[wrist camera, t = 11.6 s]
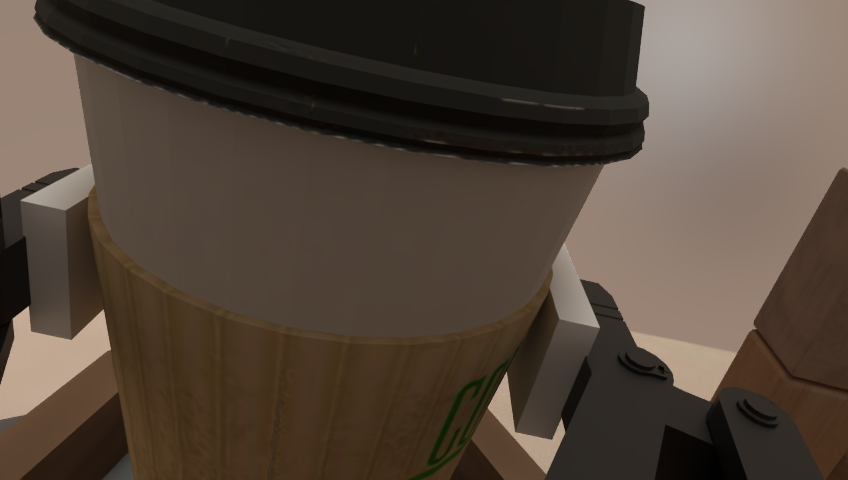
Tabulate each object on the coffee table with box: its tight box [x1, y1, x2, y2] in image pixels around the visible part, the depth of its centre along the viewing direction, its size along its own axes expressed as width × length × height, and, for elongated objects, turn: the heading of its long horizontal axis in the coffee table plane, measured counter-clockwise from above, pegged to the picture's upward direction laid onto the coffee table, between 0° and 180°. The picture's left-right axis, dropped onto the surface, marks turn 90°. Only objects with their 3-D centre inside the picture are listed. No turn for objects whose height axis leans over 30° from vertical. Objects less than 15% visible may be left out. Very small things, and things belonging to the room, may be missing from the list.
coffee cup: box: [33, 0, 649, 480], centre depth 13 cm, size 10×10×15 cm
